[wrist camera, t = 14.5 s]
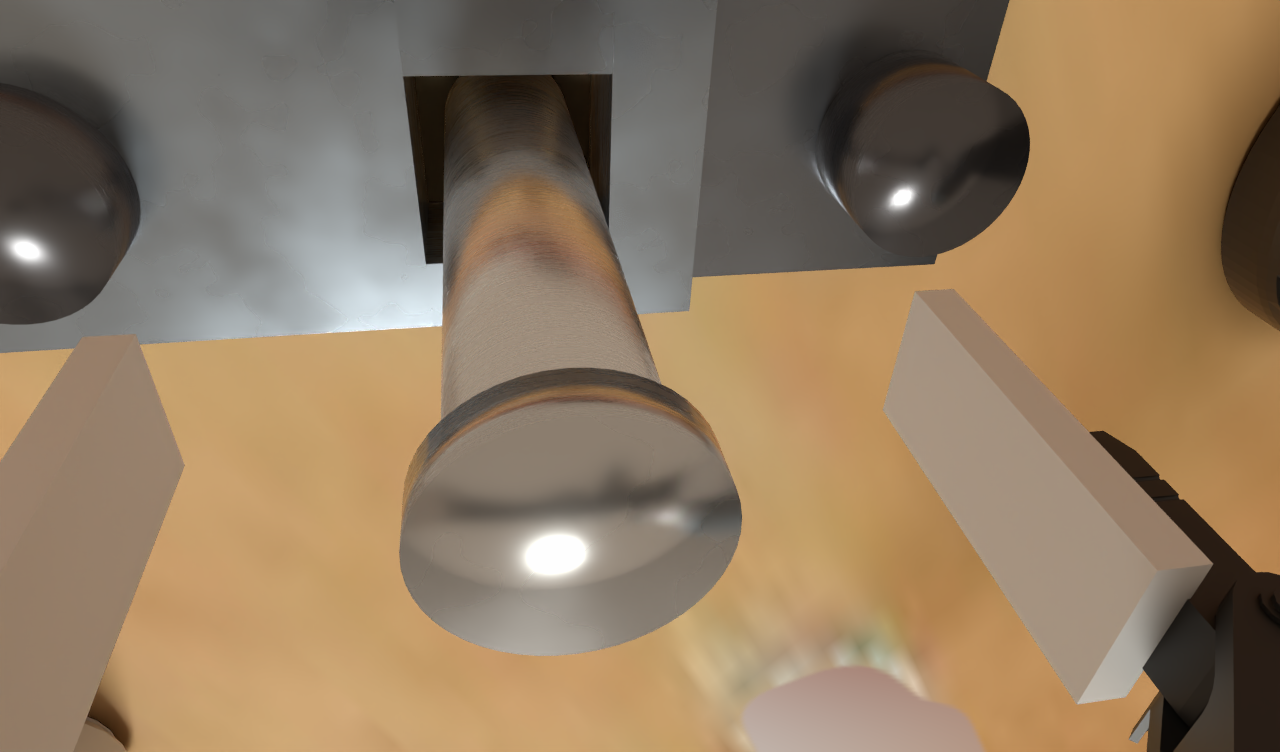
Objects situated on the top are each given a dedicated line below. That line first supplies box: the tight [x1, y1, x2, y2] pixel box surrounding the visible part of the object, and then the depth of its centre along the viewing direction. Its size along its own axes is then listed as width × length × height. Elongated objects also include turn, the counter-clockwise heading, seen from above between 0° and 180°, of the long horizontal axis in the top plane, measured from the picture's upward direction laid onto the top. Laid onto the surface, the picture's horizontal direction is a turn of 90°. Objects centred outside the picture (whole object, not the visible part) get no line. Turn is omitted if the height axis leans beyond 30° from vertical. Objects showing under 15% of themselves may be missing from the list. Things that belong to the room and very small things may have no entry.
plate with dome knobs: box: [0, 0, 1030, 353], centre depth 22 cm, size 28×9×6 cm, turn 87°
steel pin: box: [399, 75, 742, 656], centre depth 18 cm, size 5×5×17 cm
